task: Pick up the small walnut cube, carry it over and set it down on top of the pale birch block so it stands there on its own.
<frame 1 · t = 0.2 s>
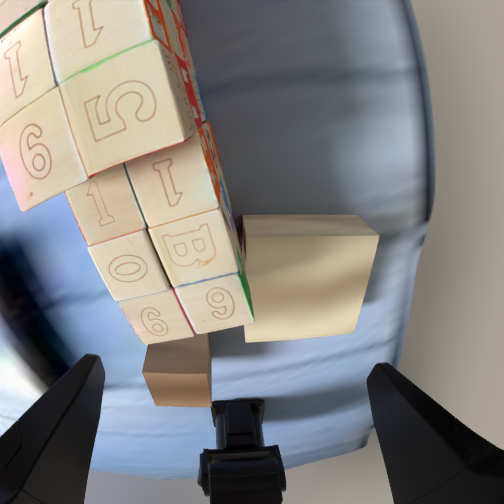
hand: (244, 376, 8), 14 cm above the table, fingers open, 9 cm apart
birch block: (297, 264, 24), on the table
stack of blocks: (159, 111, 17), on the table
walnut cube: (183, 340, 27), on the table
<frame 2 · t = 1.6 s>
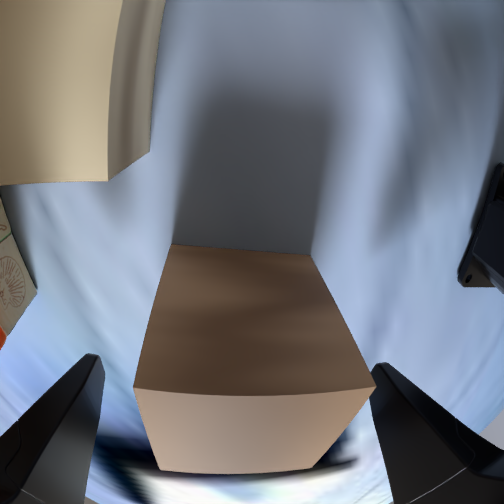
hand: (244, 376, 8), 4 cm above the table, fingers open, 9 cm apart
birch block: (46, 38, 6), on the table
walnut cube: (234, 305, 12), on the table
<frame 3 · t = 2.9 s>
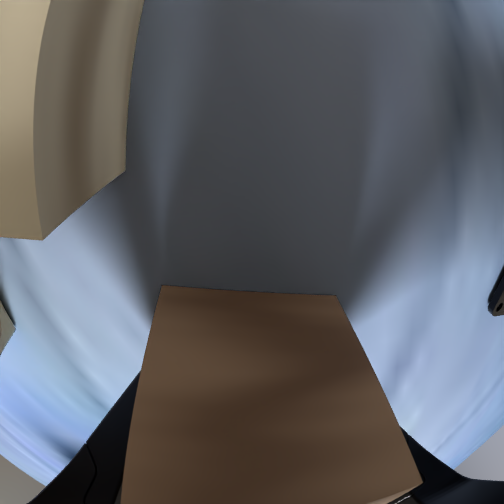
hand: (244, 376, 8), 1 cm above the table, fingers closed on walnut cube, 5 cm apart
birch block: (8, 27, 4), on the table
walnut cube: (242, 352, 9), on the table, touching gripper
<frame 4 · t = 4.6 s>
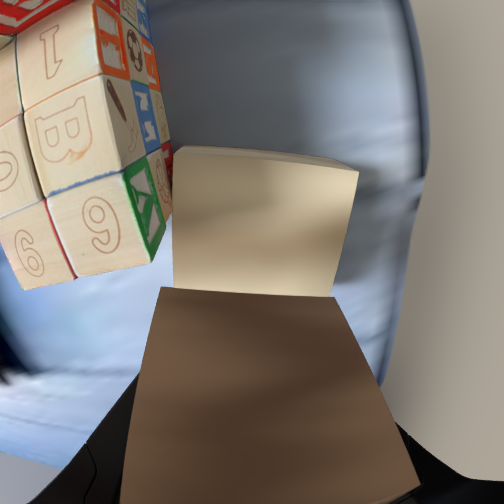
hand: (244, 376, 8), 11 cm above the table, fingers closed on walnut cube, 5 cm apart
birch block: (253, 219, 19), on the table
stack of blocks: (104, 42, 12), on the table
walnut cube: (240, 354, 9), point 10 cm above the table, touching gripper
when the fingers open (6 cm above the table, at t = 6.4 s): walnut cube drops 1 cm, resting on birch block.
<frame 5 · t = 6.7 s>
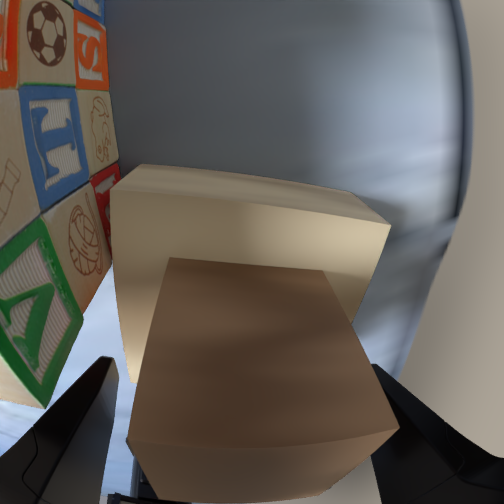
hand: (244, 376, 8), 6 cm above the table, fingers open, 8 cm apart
birch block: (234, 266, 14), on the table, touching walnut cube
stack of blocks: (49, 23, 7), on the table
walnut cube: (238, 323, 10), point 4 cm above the table, touching birch block
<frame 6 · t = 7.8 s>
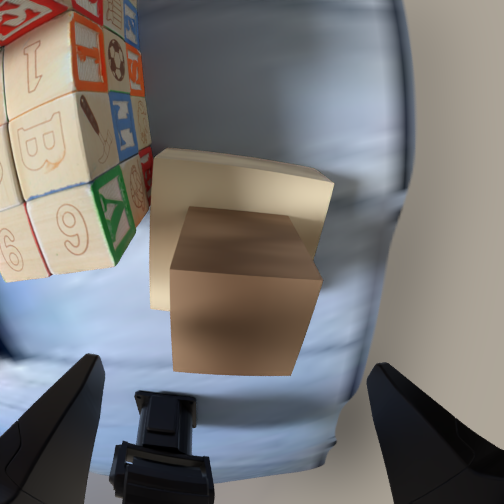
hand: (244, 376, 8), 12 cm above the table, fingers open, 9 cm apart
birch block: (231, 222, 19), on the table, touching walnut cube
stack of blocks: (95, 44, 12), on the table
walnut cube: (233, 254, 16), point 4 cm above the table, touching birch block
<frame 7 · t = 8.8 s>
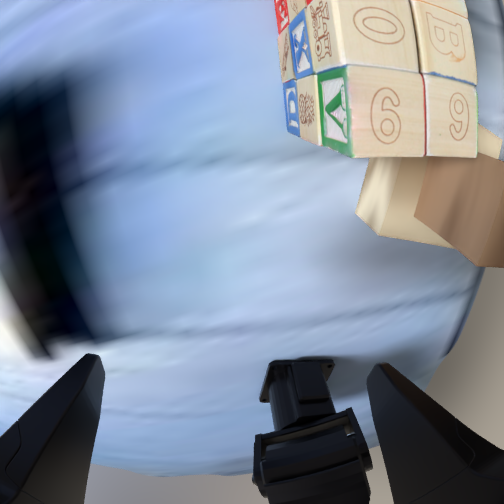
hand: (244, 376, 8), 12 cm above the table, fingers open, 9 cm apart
birch block: (418, 165, 18), on the table, touching walnut cube
walnut cube: (450, 185, 15), point 4 cm above the table, touching birch block
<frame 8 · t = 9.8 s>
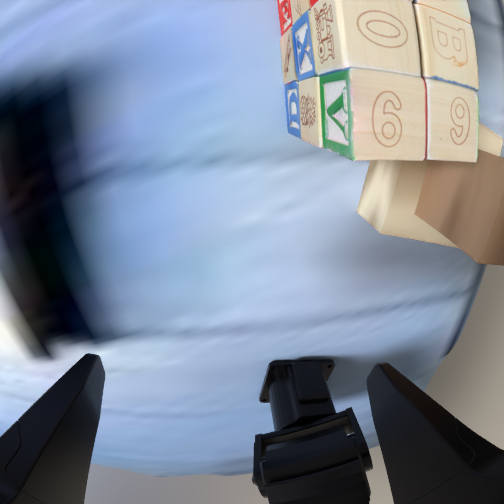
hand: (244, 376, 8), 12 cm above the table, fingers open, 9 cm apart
birch block: (419, 164, 18), on the table
walnut cube: (451, 183, 15), point 4 cm above the table
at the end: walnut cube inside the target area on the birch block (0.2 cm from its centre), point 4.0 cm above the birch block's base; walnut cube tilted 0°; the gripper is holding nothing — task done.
